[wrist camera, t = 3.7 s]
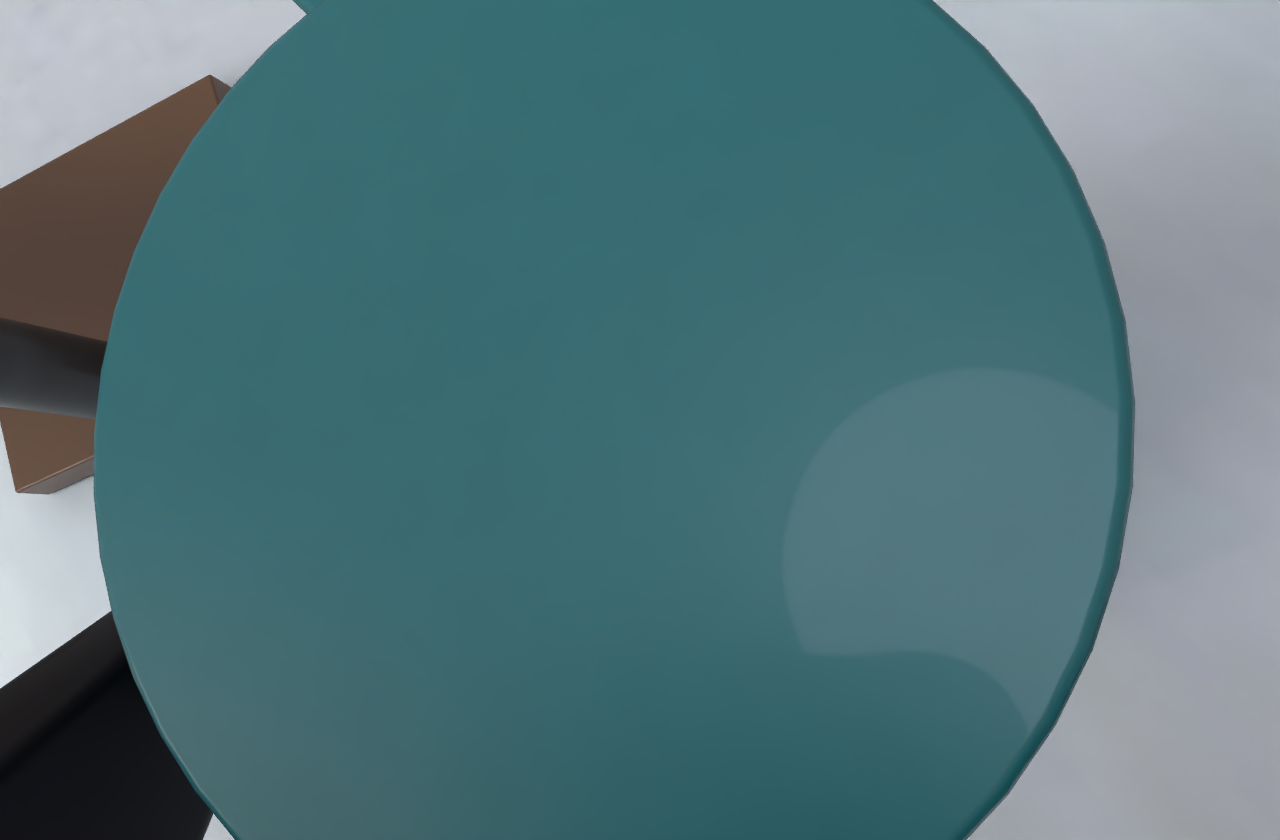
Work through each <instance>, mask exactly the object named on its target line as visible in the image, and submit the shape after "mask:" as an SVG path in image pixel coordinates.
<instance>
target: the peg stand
mask: <svg viewBox="0 0 1280 840" xmlns="http://www.w3.org/2000/svg"><path fill="white" fill-rule="evenodd" d="M230 89H231V87H230V86H228V85H227V84H225V83H223V82H222V81H220V80H218V79H217V78H215V77H213V76H212V75H208V76H206V77H204V78H203V79H201V80H199V81H197V82H195V83H193V84H192V85H190V86H188V87H186V88H184V89H182V90H181V91H179V92H177V93H175V94H173V95H171V96H170V97H168V98H166V99H164V100H162V101H160V102H159V103H157V104H155V105H153V106H151V107H149V108H148V109H146V110H144V111H142V112H140V113H139V114H137V115H135V116H133V117H131V118H129V119H128V120H126V121H124V122H122V123H120V124H118V125H117V126H115V127H113V128H111V129H109V130H107V131H106V132H104V133H102V134H100V135H98V136H96V137H95V138H93V139H91V140H89V141H87V142H85V143H84V144H82V145H80V146H78V147H76V148H74V149H73V150H71V151H69V152H67V153H65V154H63V155H62V156H60V157H58V158H56V159H54V160H52V161H51V162H49V163H47V164H45V165H43V166H42V167H40V168H38V169H36V170H34V171H32V172H31V173H29V174H27V175H25V176H23V177H21V178H20V179H18V180H16V181H14V182H12V183H10V184H9V185H7V186H5V187H3V188H1V189H0V423H1V427H2V432H3V436H4V441H5V445H6V450H7V455H8V459H9V464H10V468H11V473H12V477H13V482H14V486H15V491H16V492H17V493H31V494H51V493H53V492H55V491H57V490H60V489H62V488H64V487H66V486H68V485H71V484H73V483H75V482H77V481H79V480H82V479H84V478H86V477H88V476H90V475H93V474H94V430H95V421H96V412H97V403H98V394H99V385H100V376H101V369H102V364H103V360H104V355H105V351H106V346H107V342H108V337H109V333H110V328H111V324H112V319H113V315H114V310H115V307H116V304H117V301H118V298H119V295H120V292H121V289H122V286H123V283H124V280H125V277H126V274H127V271H128V268H129V265H130V262H131V259H132V256H133V253H134V250H135V248H136V246H137V244H138V241H139V239H140V237H141V235H142V233H143V230H144V228H145V226H146V224H147V222H148V219H149V217H150V215H151V213H152V211H153V208H154V206H155V204H156V202H157V200H158V197H159V195H160V193H161V192H162V190H163V188H164V187H165V185H166V183H167V182H168V180H169V178H170V176H171V175H172V173H173V171H174V170H175V168H176V166H177V165H178V163H179V161H180V159H181V158H182V156H183V154H184V153H185V151H186V149H187V148H188V146H189V144H190V142H191V141H192V140H193V138H194V137H195V136H196V134H197V133H198V131H199V130H200V129H201V127H202V126H203V125H204V123H205V122H206V121H207V119H208V118H209V117H210V115H211V114H212V113H213V111H214V110H215V109H216V107H217V106H218V104H219V103H220V102H221V100H222V99H223V98H224V96H225V95H226V94H227V92H228V91H229V90H230Z"/></svg>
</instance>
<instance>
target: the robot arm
mask: <svg viewBox="0 0 1280 840" xmlns="http://www.w3.org/2000/svg"><path fill="white" fill-rule="evenodd" d="M212 816H213V812H212V811H211V810H210V808H209V807H208V806H207V805H206V803H205V802H204V801H203V800H202V798H201V797H200V796H199V795H198V794H197V792H196V791H195V790H194V788H193V787H192V785H191V783H190V782H189V780H188V779H187V777H186V775H185V774H184V772H183V771H182V769H181V767H180V766H179V764H178V763H177V761H176V760H175V758H174V756H173V755H172V753H171V752H170V750H169V748H168V747H167V745H166V744H165V742H164V740H163V739H162V737H161V736H160V733H159V731H158V729H157V727H156V725H155V723H154V721H153V719H152V716H151V714H150V712H149V710H148V708H147V706H146V704H145V702H144V699H143V697H142V695H141V693H140V691H139V689H138V687H137V685H136V682H135V680H134V678H133V675H132V672H131V669H130V666H129V663H128V660H127V657H126V654H125V651H124V648H123V645H122V642H121V639H120V637H119V634H118V631H117V628H116V625H115V622H114V619H113V614H112V611H111V612H109V613H108V614H106V615H105V616H103V617H102V618H101V619H99V620H98V621H96V622H95V623H93V624H92V625H91V626H89V627H88V628H86V629H85V630H83V631H82V632H81V633H79V634H78V635H76V636H75V637H73V638H72V639H71V640H69V641H68V642H66V643H65V644H63V645H62V646H60V647H59V648H58V649H56V650H55V651H53V652H52V653H50V654H49V655H48V656H46V657H45V658H43V659H42V660H40V661H39V662H38V663H36V664H35V665H33V666H32V667H30V668H29V669H28V670H26V671H25V672H23V673H22V674H20V675H19V676H18V677H16V678H15V679H13V680H12V681H10V682H9V683H8V684H6V685H5V686H3V687H2V688H0V840H203V838H204V835H205V833H206V831H207V828H208V826H209V823H210V821H211V818H212Z"/></svg>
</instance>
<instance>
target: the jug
mask: <svg viewBox="0 0 1280 840" xmlns="http://www.w3.org/2000/svg"><path fill="white" fill-rule="evenodd" d="M293 1H294V2H295V3H296V4H297V5H298V6H299V7H300V8H301V9H302V10H303V11H304V12H305V13H306V14H307V15H306V16H304V17H303V18H302V19H301V20H300V21H299V22H298V23H296V24H295V25H294V26H293V27H292V28H291V29H289V30H288V31H287V32H286V33H285V34H284V35H283V36H281V37H280V38H279V39H278V40H277V41H276V42H274V43H273V44H272V45H271V46H270V47H269V48H268V49H267V50H266V51H265V52H264V53H263V54H262V56H261V57H260V58H259V59H258V60H257V61H256V62H255V63H254V64H253V65H252V66H251V67H250V68H249V70H248V71H247V72H246V73H245V74H244V75H243V76H242V77H241V78H240V79H239V80H238V81H237V83H236V84H235V85H234V86H233V87H232V88H231V89H230V90H229V91H228V92H227V94H226V95H225V96H224V98H223V99H222V100H221V102H220V103H219V104H218V106H217V107H216V109H215V110H214V111H213V113H212V114H211V115H210V117H209V118H208V119H207V121H206V122H205V123H204V125H203V126H202V127H201V129H200V130H199V131H198V133H197V134H196V136H195V137H194V138H193V140H192V141H191V142H190V144H189V146H188V148H187V149H186V151H185V153H184V154H183V156H182V158H181V159H180V161H179V163H178V165H177V166H176V168H175V170H174V171H173V173H172V175H171V176H170V178H169V180H168V182H167V183H166V185H165V187H164V188H163V190H162V192H161V193H160V195H159V197H158V200H157V202H156V204H155V206H154V208H153V211H152V213H151V215H150V217H149V219H148V222H147V224H146V226H145V228H144V230H143V233H142V235H141V237H140V239H139V241H138V244H137V246H136V248H135V250H134V253H133V256H132V259H131V262H130V265H129V268H128V271H127V274H126V277H125V280H124V283H123V286H122V289H121V292H120V295H119V298H118V301H117V304H116V307H115V310H114V315H113V319H112V324H111V328H110V333H109V337H108V342H107V346H106V351H105V355H104V360H103V364H102V369H101V376H100V385H99V394H98V403H97V412H96V421H95V430H94V501H95V511H96V521H97V531H98V540H99V550H100V558H101V563H102V568H103V572H104V577H105V582H106V586H107V591H108V596H109V600H110V605H111V610H112V614H113V619H114V622H115V625H116V628H117V631H118V634H119V637H120V639H121V642H122V645H123V648H124V651H125V654H126V657H127V660H128V663H129V666H130V669H131V672H132V675H133V678H134V680H135V682H136V685H137V687H138V689H139V691H140V693H141V695H142V697H143V699H144V702H145V704H146V706H147V708H148V710H149V712H150V714H151V716H152V719H153V721H154V723H155V725H156V727H157V729H158V731H159V733H160V736H161V737H162V739H163V740H164V742H165V744H166V745H167V747H168V748H169V750H170V752H171V753H172V755H173V756H174V758H175V760H176V761H177V763H178V764H179V766H180V767H181V769H182V771H183V772H184V774H185V775H186V777H187V779H188V780H189V782H190V783H191V785H192V787H193V788H194V790H195V791H196V792H197V794H198V795H199V796H200V797H201V798H202V800H203V801H204V802H205V803H206V805H207V806H208V807H209V808H210V810H211V811H212V812H213V813H214V814H215V816H216V817H217V818H218V819H219V821H220V822H221V823H222V824H223V825H224V827H225V828H226V829H227V830H228V832H229V833H230V834H231V835H232V837H233V838H234V839H235V840H967V839H968V837H969V836H970V835H971V834H972V833H973V832H974V831H975V830H976V829H977V828H978V827H979V826H980V824H981V823H982V822H983V821H984V820H985V819H986V818H987V817H988V816H989V815H990V814H991V813H992V811H993V810H994V809H995V808H996V807H997V806H998V805H999V804H1000V803H1001V802H1002V801H1003V800H1004V798H1005V797H1006V796H1007V795H1008V794H1009V792H1010V791H1011V790H1012V788H1013V787H1014V785H1015V784H1016V782H1017V781H1018V779H1019V778H1020V776H1021V775H1022V774H1023V772H1024V771H1025V769H1026V768H1027V766H1028V765H1029V763H1030V762H1031V760H1032V759H1033V757H1034V756H1035V755H1036V753H1037V752H1038V750H1039V749H1040V747H1041V746H1042V744H1043V743H1044V741H1045V740H1046V738H1047V737H1048V736H1049V734H1050V733H1051V731H1052V730H1053V728H1054V727H1055V725H1056V723H1057V721H1058V719H1059V717H1060V715H1061V713H1062V711H1063V709H1064V707H1065V705H1066V703H1067V701H1068V699H1069V697H1070V695H1071V693H1072V691H1073V689H1074V686H1075V684H1076V682H1077V680H1078V678H1079V676H1080V674H1081V672H1082V670H1083V668H1084V666H1085V664H1086V662H1087V660H1088V658H1089V656H1090V654H1091V652H1092V650H1093V647H1094V644H1095V640H1096V637H1097V634H1098V631H1099V628H1100V625H1101V622H1102V619H1103V616H1104V613H1105V610H1106V606H1107V603H1108V600H1109V597H1110V594H1111V591H1112V588H1113V585H1114V582H1115V579H1116V576H1117V573H1118V569H1119V564H1120V558H1121V552H1122V546H1123V540H1124V534H1125V529H1126V523H1127V517H1128V511H1129V505H1130V500H1131V494H1132V488H1133V459H1134V422H1135V398H1134V390H1133V381H1132V373H1131V364H1130V355H1129V347H1128V338H1127V330H1126V321H1125V317H1124V314H1123V310H1122V306H1121V302H1120V299H1119V295H1118V291H1117V287H1116V284H1115V280H1114V276H1113V272H1112V269H1111V265H1110V261H1109V257H1108V253H1107V250H1106V246H1105V243H1104V240H1103V238H1102V236H1101V233H1100V231H1099V229H1098V226H1097V224H1096V222H1095V219H1094V217H1093V215H1092V212H1091V210H1090V208H1089V205H1088V203H1087V201H1086V198H1085V196H1084V194H1083V191H1082V189H1081V187H1080V184H1079V182H1078V180H1077V177H1076V175H1075V173H1074V170H1073V169H1072V167H1071V165H1070V164H1069V162H1068V160H1067V159H1066V157H1065V156H1064V154H1063V152H1062V151H1061V149H1060V147H1059V146H1058V144H1057V143H1056V141H1055V139H1054V138H1053V136H1052V134H1051V133H1050V131H1049V130H1048V128H1047V126H1046V125H1045V123H1044V121H1043V120H1042V118H1041V116H1040V115H1039V113H1038V112H1037V110H1036V108H1035V107H1034V105H1033V104H1032V103H1031V101H1030V100H1029V99H1028V98H1027V97H1026V95H1025V94H1024V93H1023V92H1022V91H1021V89H1020V88H1019V87H1018V86H1017V85H1016V83H1015V82H1014V81H1013V80H1012V79H1011V77H1010V76H1009V75H1008V74H1007V73H1006V72H1005V70H1004V69H1003V68H1002V67H1001V66H1000V64H999V63H998V62H997V61H996V60H995V58H994V57H993V56H992V55H991V54H990V52H989V51H988V50H987V49H986V48H985V47H984V46H983V45H982V44H981V43H980V42H979V41H978V40H977V39H975V38H974V37H973V36H972V35H971V34H970V33H969V32H968V31H966V30H965V29H964V28H963V27H962V26H961V25H960V24H959V23H957V22H956V21H955V20H954V19H953V18H952V17H951V16H950V15H948V14H947V13H946V12H945V11H944V10H943V9H942V8H941V7H940V6H938V5H937V4H936V3H935V2H934V1H933V0H293Z"/></svg>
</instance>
